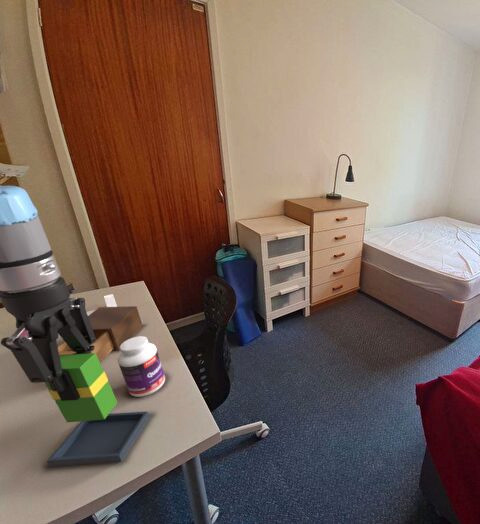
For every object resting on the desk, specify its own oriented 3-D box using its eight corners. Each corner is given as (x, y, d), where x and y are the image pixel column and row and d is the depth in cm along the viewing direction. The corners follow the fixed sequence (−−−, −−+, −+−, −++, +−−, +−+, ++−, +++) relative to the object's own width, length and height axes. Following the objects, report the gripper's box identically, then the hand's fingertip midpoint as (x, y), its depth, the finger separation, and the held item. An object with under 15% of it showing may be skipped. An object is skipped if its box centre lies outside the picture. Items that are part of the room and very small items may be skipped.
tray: (51, 468, 56) (47, 461, 55) (89, 421, 65) (86, 414, 64) (122, 462, 57) (119, 455, 56) (150, 418, 67) (147, 411, 66)
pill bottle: (157, 397, 72) (143, 352, 66) (123, 400, 71) (105, 355, 65) (171, 373, 79) (159, 331, 74) (139, 376, 78) (125, 334, 72)
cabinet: (119, 351, 87) (111, 328, 84) (78, 353, 86) (68, 330, 82) (143, 327, 98) (136, 306, 95) (107, 328, 97) (99, 307, 94)
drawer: (81, 384, 74) (72, 364, 71) (37, 387, 73) (26, 366, 70) (120, 345, 88) (114, 327, 85) (84, 346, 87) (76, 328, 84)
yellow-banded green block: (66, 422, 56) (37, 370, 50) (82, 405, 59) (56, 355, 54) (104, 419, 56) (79, 368, 51) (118, 402, 60) (96, 352, 55)
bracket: (119, 312, 108) (112, 293, 106) (120, 315, 103) (113, 296, 101) (73, 325, 99) (65, 305, 98) (72, 330, 94) (64, 309, 93)
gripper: (3, 311, 39) (65, 427, 48) (94, 262, 54) (128, 357, 63) (-59, 312, 38) (16, 430, 47) (52, 263, 54) (92, 359, 63)
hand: (80, 388), depth 55 cm, fingers closed on yellow-banded green block, 4 cm apart
